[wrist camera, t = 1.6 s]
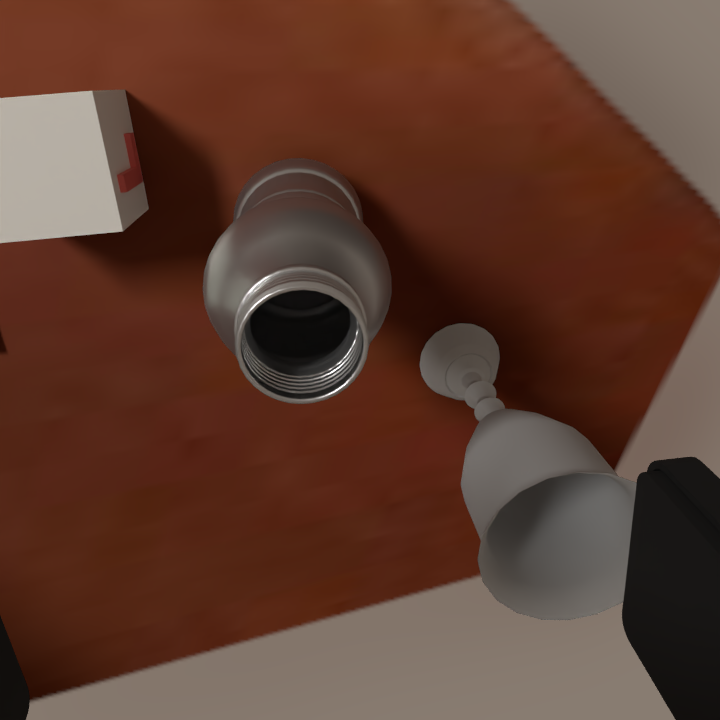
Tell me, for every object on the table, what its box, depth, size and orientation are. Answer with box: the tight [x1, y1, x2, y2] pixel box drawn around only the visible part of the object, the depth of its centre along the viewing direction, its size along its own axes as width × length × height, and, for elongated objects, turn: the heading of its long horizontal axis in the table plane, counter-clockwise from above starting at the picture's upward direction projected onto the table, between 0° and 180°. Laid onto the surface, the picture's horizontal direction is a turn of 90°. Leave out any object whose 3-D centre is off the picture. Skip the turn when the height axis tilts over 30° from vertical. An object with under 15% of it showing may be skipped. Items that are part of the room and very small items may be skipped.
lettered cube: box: [0, 90, 149, 243], centre depth 31 cm, size 6×6×6 cm
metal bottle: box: [203, 158, 392, 404], centre depth 27 cm, size 6×7×20 cm
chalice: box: [420, 323, 637, 620], centre depth 33 cm, size 7×7×18 cm
